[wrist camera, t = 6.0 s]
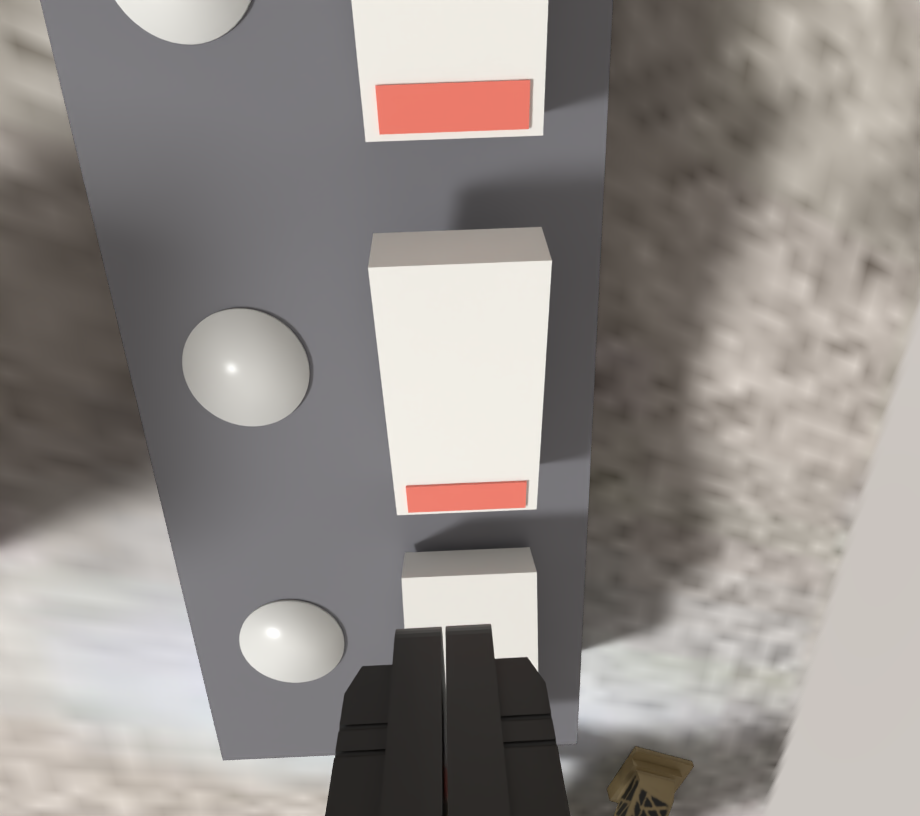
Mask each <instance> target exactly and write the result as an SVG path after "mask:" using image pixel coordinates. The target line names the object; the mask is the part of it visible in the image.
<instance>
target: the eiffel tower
mask: <svg viewBox="0 0 920 816" xmlns="http://www.w3.org/2000/svg"><path fill="white" fill-rule="evenodd" d="M693 767H694V765H693V763H692V761H689V760H685V759H681V758H678V757H674V756H670V755H666V754H662V753H659V752H655V751H651V750H647V749H644V748H640V747H636V746H635V747H634V749H633V750H632V752H631V753H630V755H629V756H628V758H627V759H626V761H625V762H624V764H623V765H622V767H621V768H620V770H619V771H618V773H617V774H616V776H615V777H614V779H613V780H612V782H611V783H610V785H609V786H608V788H607V791H608V795H609V799H610V801H612V802H616V803H618V805H617V808H616V811H615V813H614V816H668V815H669V812H670V810H671V807H672V804H673V801H674V793H675V792H676V790H677V789H678V788H679V786H680V785H681V783H682V782H683V781H684V779H685V778H686V777H687V775H688V774H689V772H690V771H691V770H692V768H693Z"/></svg>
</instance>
